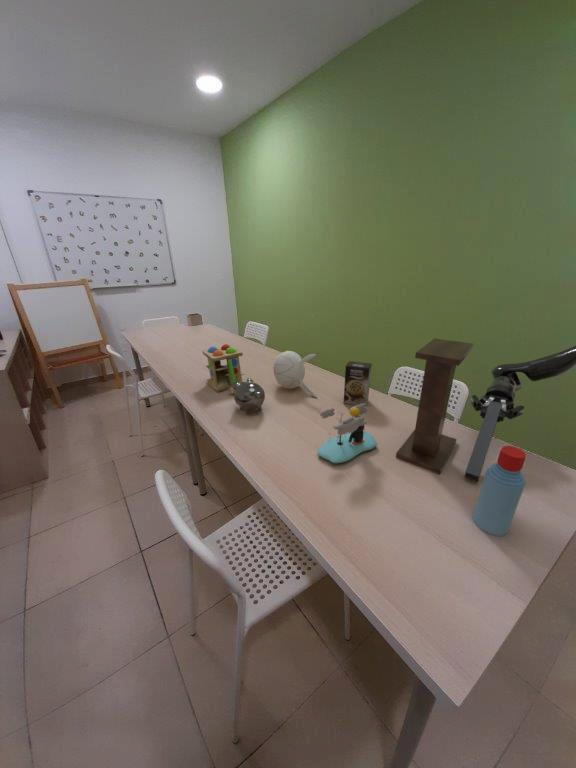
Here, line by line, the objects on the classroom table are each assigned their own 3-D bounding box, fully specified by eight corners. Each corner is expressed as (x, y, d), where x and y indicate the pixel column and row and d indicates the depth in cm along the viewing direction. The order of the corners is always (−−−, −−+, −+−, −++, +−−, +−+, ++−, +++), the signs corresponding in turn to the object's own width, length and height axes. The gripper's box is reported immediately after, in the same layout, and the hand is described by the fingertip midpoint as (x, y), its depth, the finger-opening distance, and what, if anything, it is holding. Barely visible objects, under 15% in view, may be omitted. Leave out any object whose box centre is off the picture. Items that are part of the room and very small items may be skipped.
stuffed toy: (262, 352, 132) (303, 356, 114) (285, 347, 141) (326, 350, 123) (266, 393, 137) (305, 403, 119) (287, 386, 146) (327, 394, 128)
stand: (455, 443, 93) (479, 343, 80) (439, 474, 81) (464, 361, 68) (416, 430, 100) (431, 337, 87) (395, 457, 88) (410, 352, 75)
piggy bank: (251, 398, 126) (249, 373, 121) (273, 411, 115) (271, 384, 111) (228, 407, 119) (224, 381, 115) (248, 421, 109) (246, 393, 104)
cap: (522, 464, 60) (526, 450, 58) (520, 474, 57) (525, 460, 56) (498, 456, 62) (502, 443, 61) (495, 466, 59) (499, 452, 58)
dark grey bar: (500, 409, 87) (502, 403, 85) (477, 481, 77) (478, 477, 75) (488, 406, 89) (490, 400, 87) (464, 476, 79) (465, 472, 77)
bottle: (509, 520, 66) (535, 451, 59) (506, 541, 62) (532, 469, 54) (475, 506, 70) (495, 440, 63) (469, 525, 66) (490, 455, 58)
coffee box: (342, 403, 119) (344, 365, 113) (346, 396, 125) (348, 360, 118) (366, 407, 116) (369, 368, 110) (368, 400, 122) (372, 362, 115)
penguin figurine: (360, 431, 101) (363, 390, 94) (384, 447, 92) (389, 404, 86) (310, 450, 92) (310, 407, 86) (332, 470, 83) (333, 423, 77)
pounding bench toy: (254, 391, 133) (251, 352, 126) (224, 399, 126) (219, 359, 119) (234, 375, 151) (230, 340, 144) (206, 382, 144) (201, 346, 137)
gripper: (523, 411, 93) (518, 437, 81) (472, 399, 101) (460, 421, 89) (530, 389, 90) (526, 412, 78) (477, 379, 98) (465, 398, 86)
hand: (491, 417), depth 84 cm, fingers closed on dark grey bar, 3 cm apart
